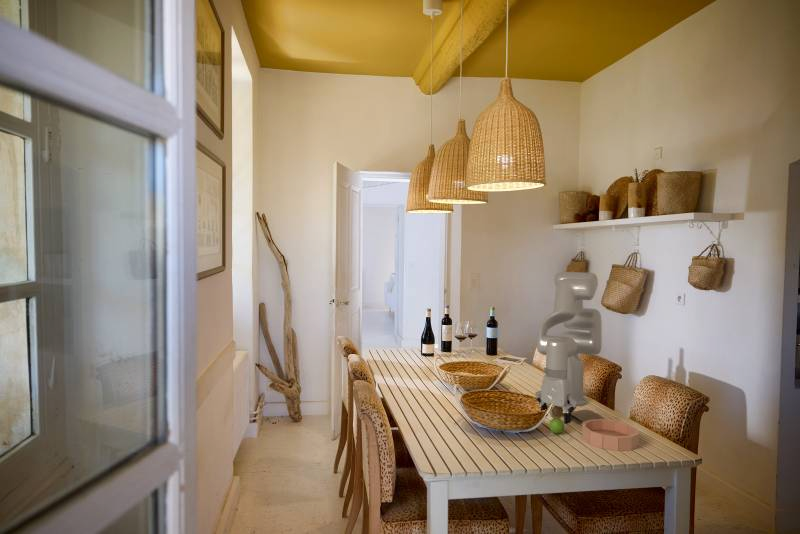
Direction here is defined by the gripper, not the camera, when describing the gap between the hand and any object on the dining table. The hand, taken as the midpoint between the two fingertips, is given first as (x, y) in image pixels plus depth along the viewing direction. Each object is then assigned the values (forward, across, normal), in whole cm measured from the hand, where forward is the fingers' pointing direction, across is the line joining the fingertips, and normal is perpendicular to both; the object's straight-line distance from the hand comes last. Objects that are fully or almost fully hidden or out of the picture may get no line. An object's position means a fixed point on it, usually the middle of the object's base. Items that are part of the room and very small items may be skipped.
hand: (555, 419), depth 184 cm
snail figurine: (+5, 0, 0) cm, 5 cm away
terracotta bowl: (+5, +16, +9) cm, 19 cm away
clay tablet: (+6, -3, +23) cm, 24 cm away
